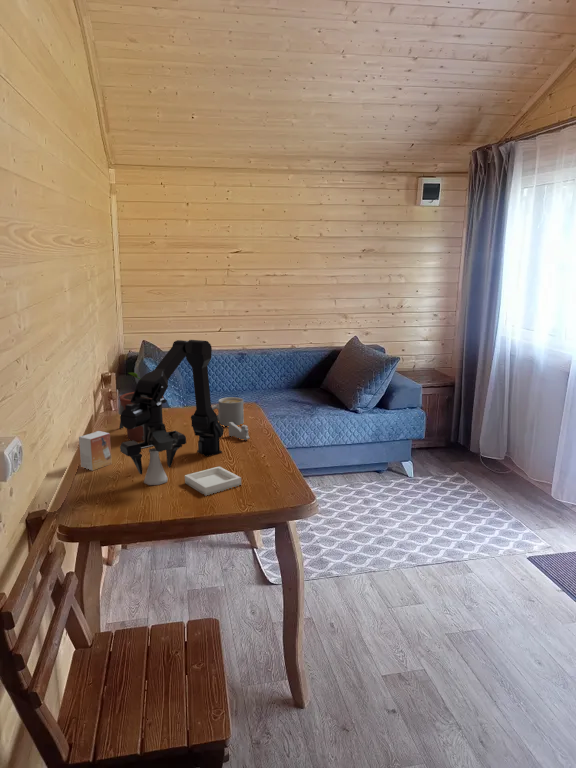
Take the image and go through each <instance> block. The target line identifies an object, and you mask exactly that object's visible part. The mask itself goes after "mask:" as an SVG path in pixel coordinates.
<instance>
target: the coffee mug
mask: <svg viewBox="0 0 576 768" xmlns="http://www.w3.org/2000/svg"><path fill="white" fill-rule="evenodd" d="M211 408H212V409H213V410H214V411H215V410H216V409H217V410H218V413H217V414H216V415H217V419H218V423H219V424H221V425H224V426H229V425H228V423H229V422H233V423H234V424H235V425H240V424H243V423H244V421H245V420H244V418H245V417H244V398H242V397H235V396H234V397H232V396H231V397H222V398H220V399H218V404H214V405H211ZM243 425H244V424H243Z"/></svg>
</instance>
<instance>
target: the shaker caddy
mask: <svg viewBox="0 0 576 768" xmlns="http://www.w3.org/2000/svg"><path fill="white" fill-rule="evenodd" d="M184 483H185V484H186V485H187V486H189V487H190V488H192V489H194V490H195V491H197V492H198V493H200V494H202V495H203V494H204V496H205V497H207V495H208V496H210V494H211V495H214V494H217V492H218V493H221V492H224V490H225V491H227V490H226V489H228V490H230V489H229V488H231V489H233V488H232V487H235V488H237V487H236V486H238V487H240V486H239V485H241V486H242V477H241V476H239V475H237V474H235V473H233V472H231V471H229V470H227V469H225V468H223V467H222V466H220V465H219V466H216V467H211V468H207V469H205V470H200V471H196V472H193V473H192V472H191V473H188V474H185V475H184ZM220 491H221V492H220ZM213 493H214V494H213Z"/></svg>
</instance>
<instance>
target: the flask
mask: <svg viewBox="0 0 576 768" xmlns="http://www.w3.org/2000/svg"><path fill="white" fill-rule="evenodd" d="M148 453H149V463H148V466H147V468H146V469H147V470H146V473H145V476H144V479H143V483H144V484H145V485H148V486H159V485H162V484H165V483H168V481H169V480H168V476H167V473H166V472H165V469H164V467H163V464H162V462H161V459H160V454H159V453H160V452H158V451H157V450H156V449H155V447H153V448H152V447H151V448H149V449H148Z"/></svg>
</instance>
